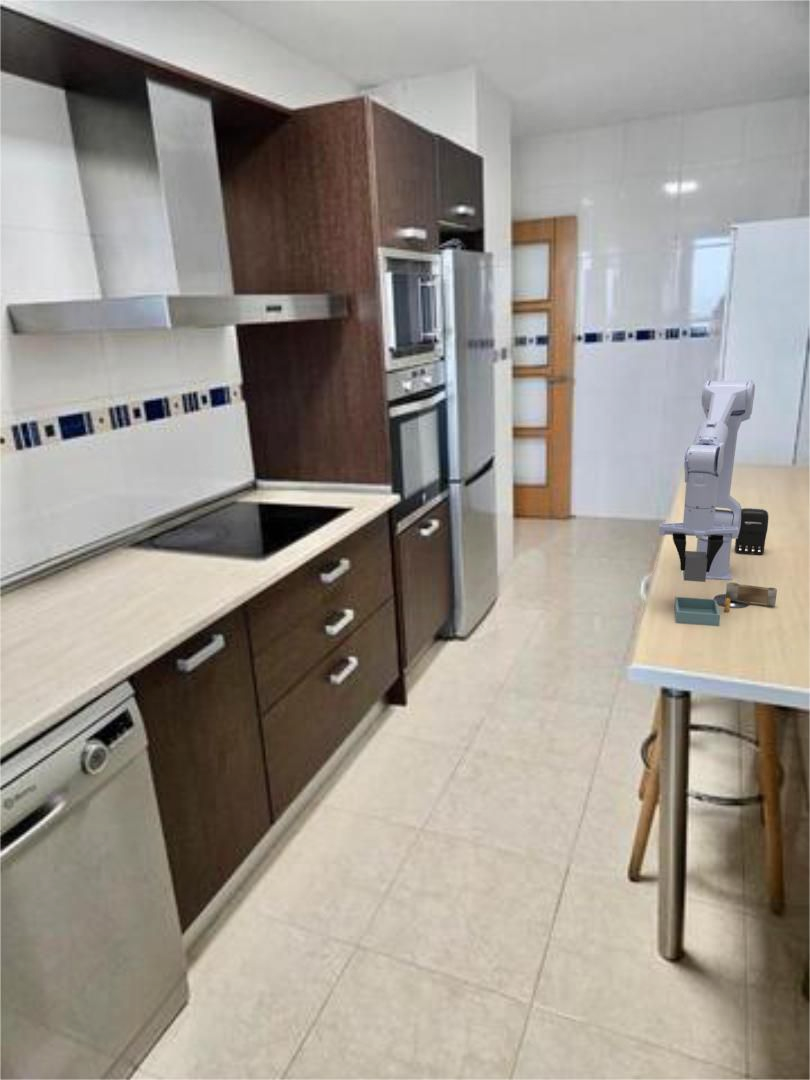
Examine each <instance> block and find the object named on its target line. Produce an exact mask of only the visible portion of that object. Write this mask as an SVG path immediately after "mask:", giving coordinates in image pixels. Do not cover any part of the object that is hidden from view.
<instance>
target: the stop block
mask: <svg viewBox="0 0 810 1080" xmlns="http://www.w3.org/2000/svg"><path fill="white" fill-rule="evenodd" d="M696 551H697V550H696ZM696 551H695V550H685V570H684V571H682V575H683V581H687V582H701V583H703V582H704V583H706V580H707V579H706V569H707V554H706V552H696Z"/></svg>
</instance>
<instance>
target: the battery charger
mask: <svg viewBox="0 0 810 1080" xmlns="http://www.w3.org/2000/svg"><path fill="white" fill-rule="evenodd" d="M768 527H769V512H768V511H767V509H764V508H760V507H759V508H756V507H741V525H740V531H739V535H738V539H734V540H735V542H734V551H735V552H736V553H737V554H741V555H753V556H754V555H756V556H762V555H764V553H765V546H766V539H767V534H768Z"/></svg>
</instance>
